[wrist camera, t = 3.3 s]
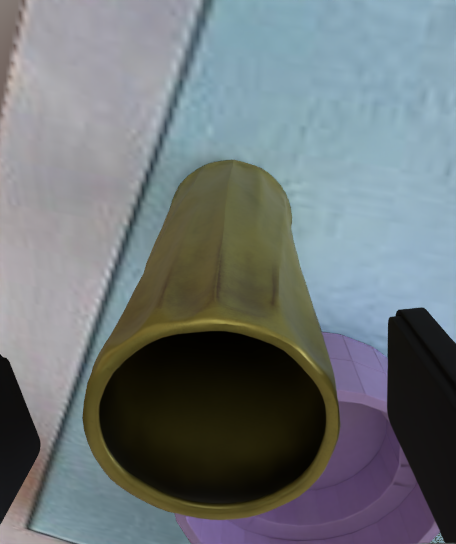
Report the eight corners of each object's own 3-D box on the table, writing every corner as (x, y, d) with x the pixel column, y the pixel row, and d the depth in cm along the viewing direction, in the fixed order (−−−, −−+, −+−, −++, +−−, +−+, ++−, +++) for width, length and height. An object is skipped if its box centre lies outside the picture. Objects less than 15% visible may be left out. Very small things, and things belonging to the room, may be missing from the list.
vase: (287, 152, 20) (370, 281, 7) (294, 271, 23) (364, 530, 9) (160, 166, 21) (15, 311, 7) (180, 281, 23) (97, 541, 10)
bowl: (165, 337, 24) (144, 403, 19) (420, 312, 23) (469, 376, 18) (203, 508, 30) (195, 593, 25) (410, 495, 29) (445, 582, 24)
